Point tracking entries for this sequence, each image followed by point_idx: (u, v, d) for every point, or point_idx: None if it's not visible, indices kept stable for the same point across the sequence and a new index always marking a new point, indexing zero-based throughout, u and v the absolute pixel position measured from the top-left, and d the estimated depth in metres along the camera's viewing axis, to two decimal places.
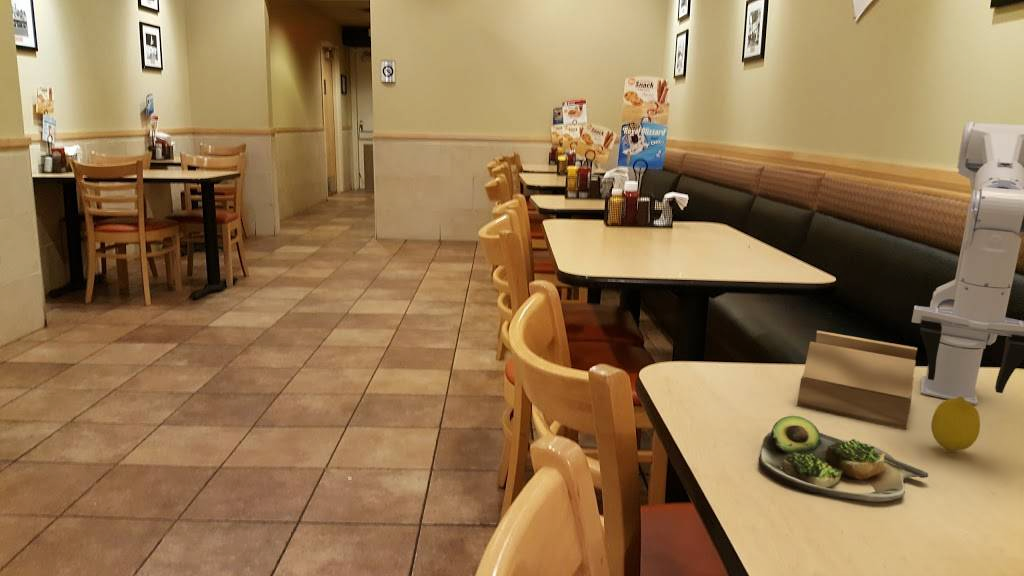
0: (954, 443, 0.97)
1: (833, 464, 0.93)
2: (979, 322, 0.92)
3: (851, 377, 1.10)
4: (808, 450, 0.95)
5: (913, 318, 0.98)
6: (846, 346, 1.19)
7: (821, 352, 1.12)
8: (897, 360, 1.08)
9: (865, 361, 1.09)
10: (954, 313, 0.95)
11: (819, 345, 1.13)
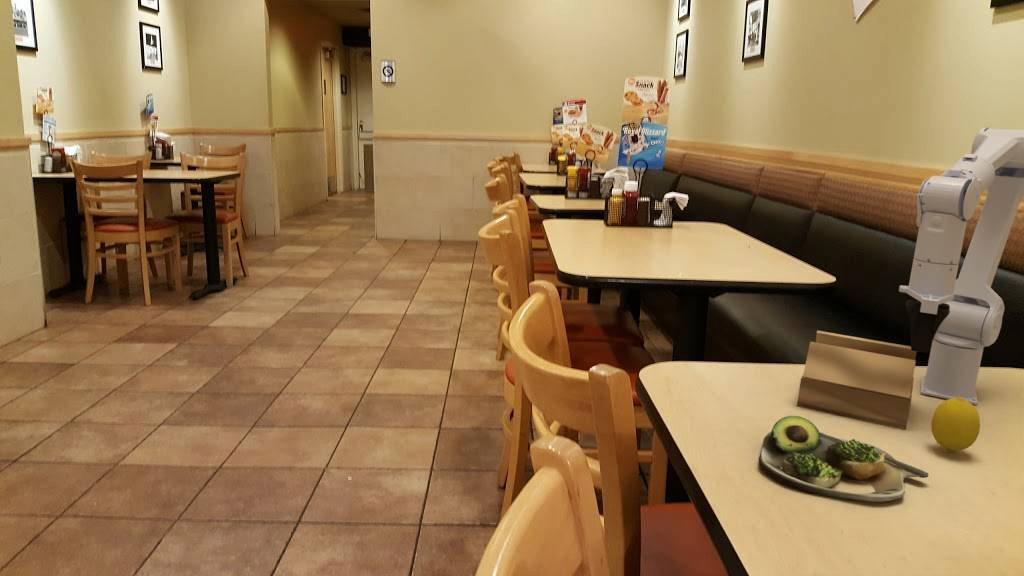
0: (954, 443, 0.97)
1: (833, 464, 0.93)
2: (903, 286, 1.09)
3: (851, 377, 1.10)
4: (808, 450, 0.95)
5: None
6: (846, 346, 1.19)
7: (821, 352, 1.12)
8: (897, 360, 1.08)
9: (865, 361, 1.09)
10: None
11: (819, 345, 1.13)
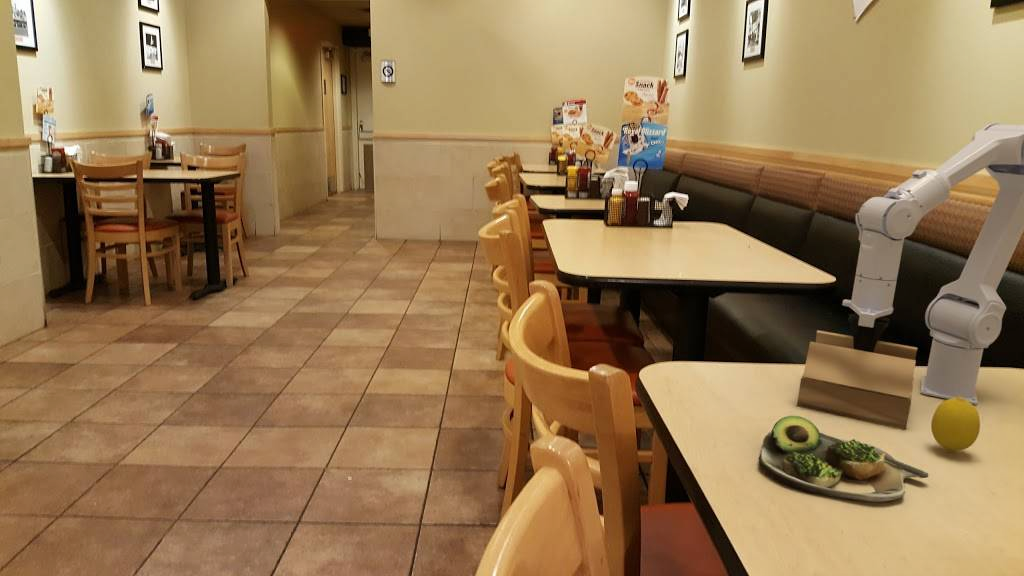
0: (954, 443, 0.97)
1: (833, 464, 0.93)
2: (846, 300, 1.16)
3: (851, 377, 1.10)
4: (808, 450, 0.95)
5: None
6: (846, 346, 1.19)
7: (821, 352, 1.12)
8: (897, 360, 1.08)
9: (865, 361, 1.09)
10: None
11: (819, 345, 1.13)
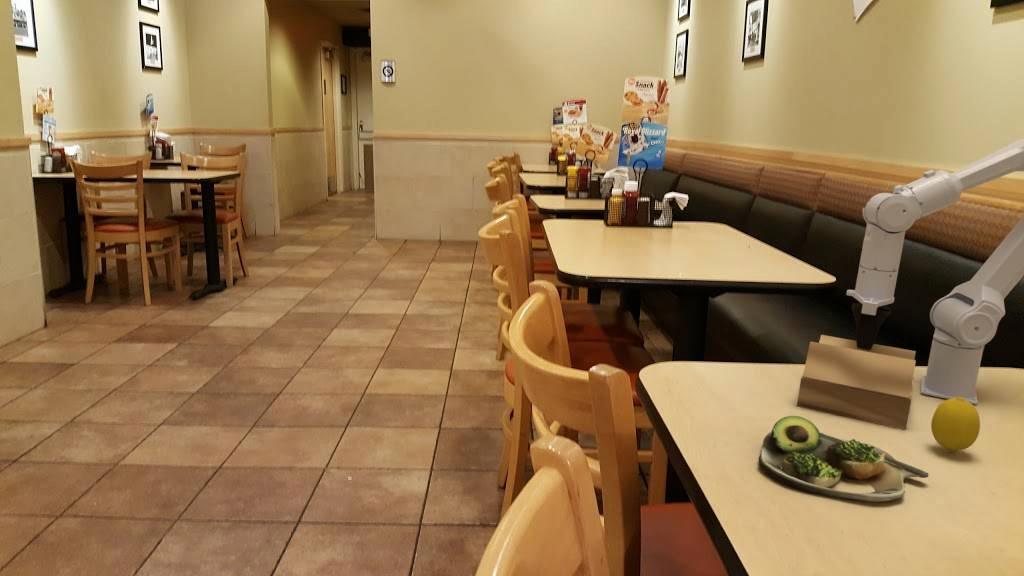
0: (954, 443, 0.97)
1: (833, 464, 0.93)
2: (850, 290, 1.22)
3: (851, 377, 1.10)
4: (808, 450, 0.95)
5: None
6: (848, 347, 1.24)
7: (821, 352, 1.12)
8: (897, 360, 1.08)
9: (865, 361, 1.09)
10: None
11: (819, 345, 1.13)
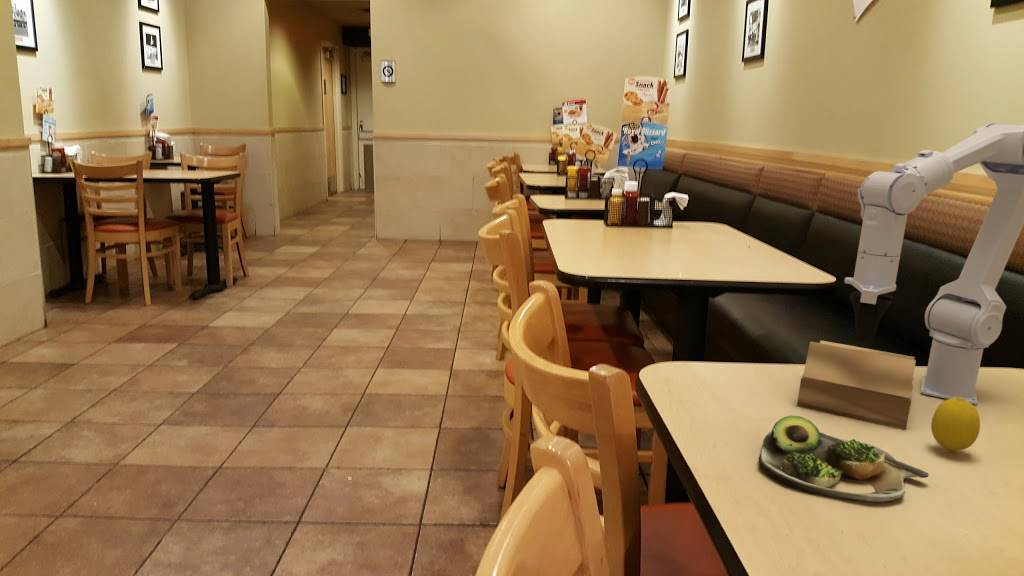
0: (954, 443, 0.97)
1: (833, 464, 0.93)
2: (849, 278, 1.13)
3: (851, 377, 1.10)
4: (808, 450, 0.95)
5: None
6: None
7: (821, 352, 1.12)
8: (897, 360, 1.08)
9: (865, 361, 1.09)
10: None
11: (819, 345, 1.13)
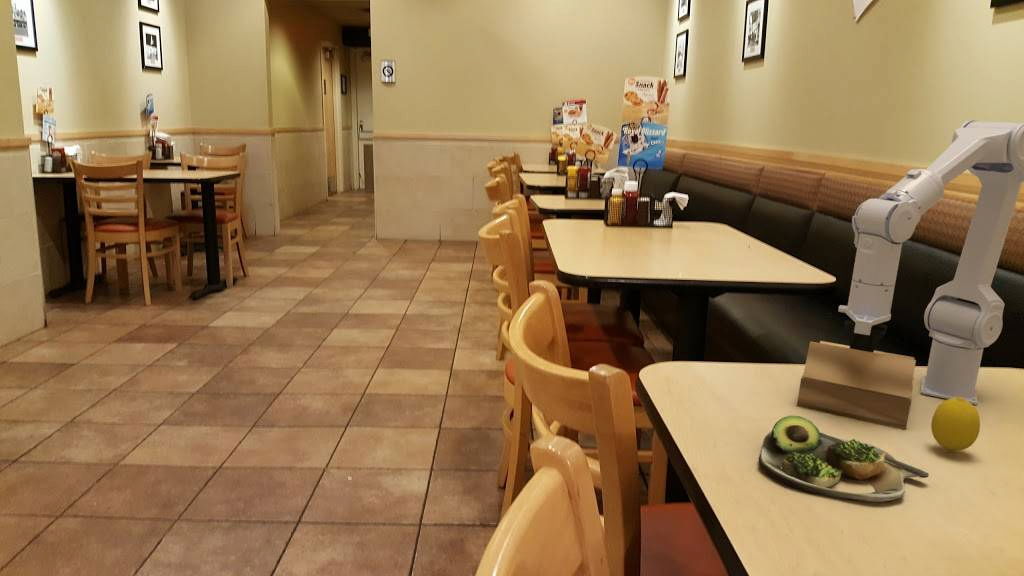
0: (954, 443, 0.97)
1: (833, 464, 0.93)
2: (843, 306, 1.11)
3: (851, 377, 1.09)
4: (808, 450, 0.95)
5: None
6: None
7: (821, 352, 1.12)
8: (897, 360, 1.08)
9: (865, 361, 1.09)
10: None
11: (819, 345, 1.13)
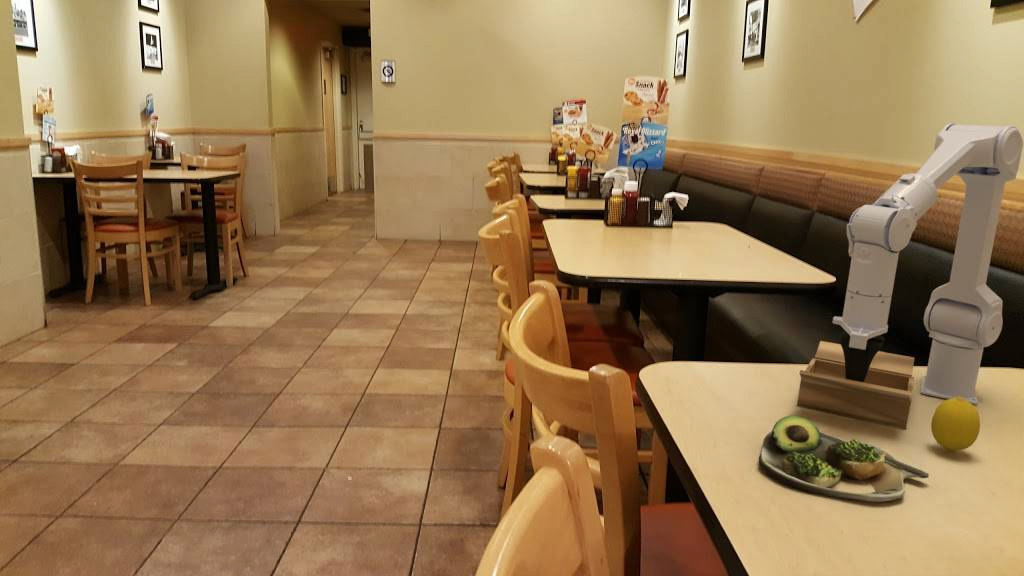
0: (954, 443, 0.97)
1: (833, 464, 0.93)
2: (837, 318, 1.06)
3: (848, 389, 1.08)
4: (808, 450, 0.95)
5: None
6: None
7: (813, 377, 1.08)
8: (891, 392, 1.02)
9: (859, 387, 1.05)
10: None
11: (809, 375, 1.07)
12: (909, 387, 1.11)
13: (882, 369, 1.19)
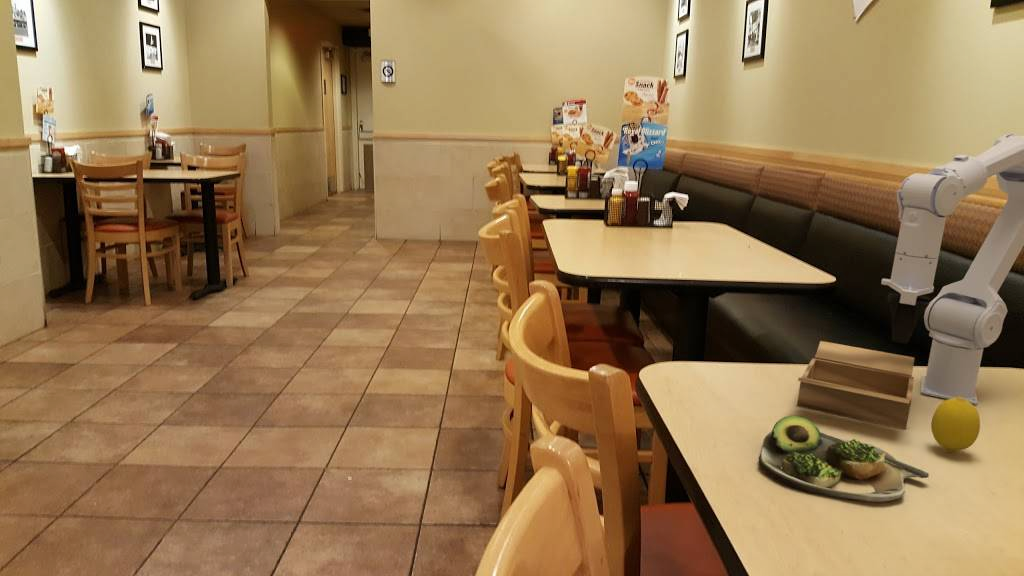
0: (954, 443, 0.97)
1: (833, 464, 0.93)
2: (885, 279, 1.14)
3: None
4: (808, 450, 0.95)
5: None
6: (847, 351, 1.24)
7: None
8: (890, 399, 1.02)
9: None
10: None
11: (808, 382, 1.07)
12: (909, 387, 1.11)
13: (882, 369, 1.19)
